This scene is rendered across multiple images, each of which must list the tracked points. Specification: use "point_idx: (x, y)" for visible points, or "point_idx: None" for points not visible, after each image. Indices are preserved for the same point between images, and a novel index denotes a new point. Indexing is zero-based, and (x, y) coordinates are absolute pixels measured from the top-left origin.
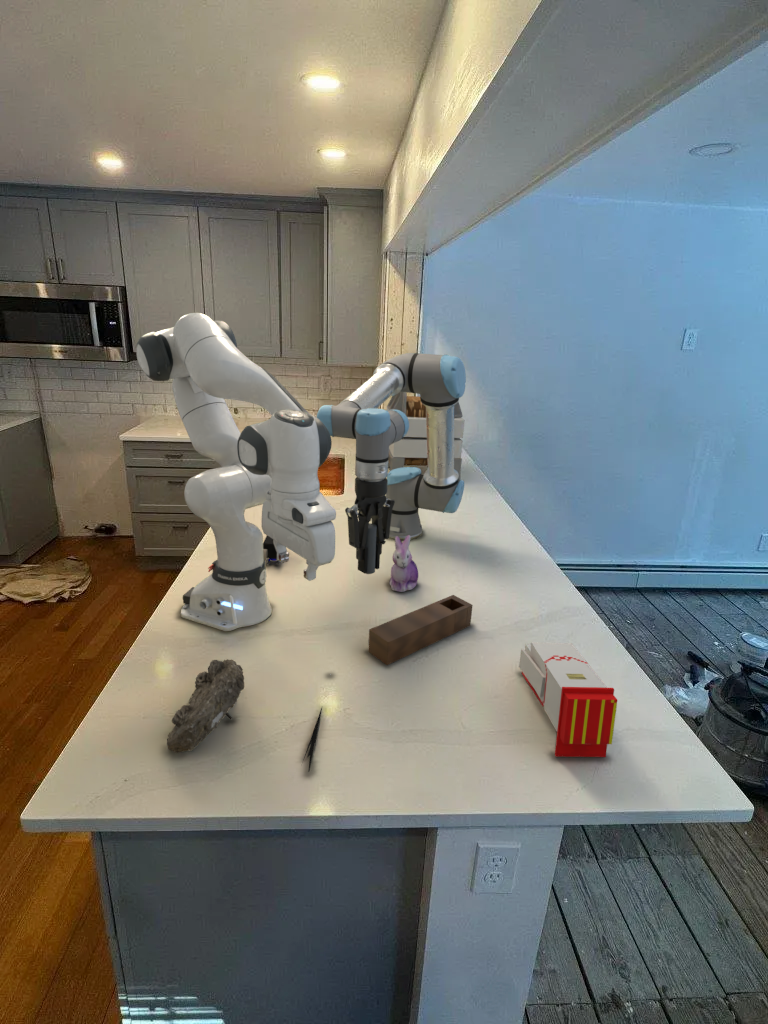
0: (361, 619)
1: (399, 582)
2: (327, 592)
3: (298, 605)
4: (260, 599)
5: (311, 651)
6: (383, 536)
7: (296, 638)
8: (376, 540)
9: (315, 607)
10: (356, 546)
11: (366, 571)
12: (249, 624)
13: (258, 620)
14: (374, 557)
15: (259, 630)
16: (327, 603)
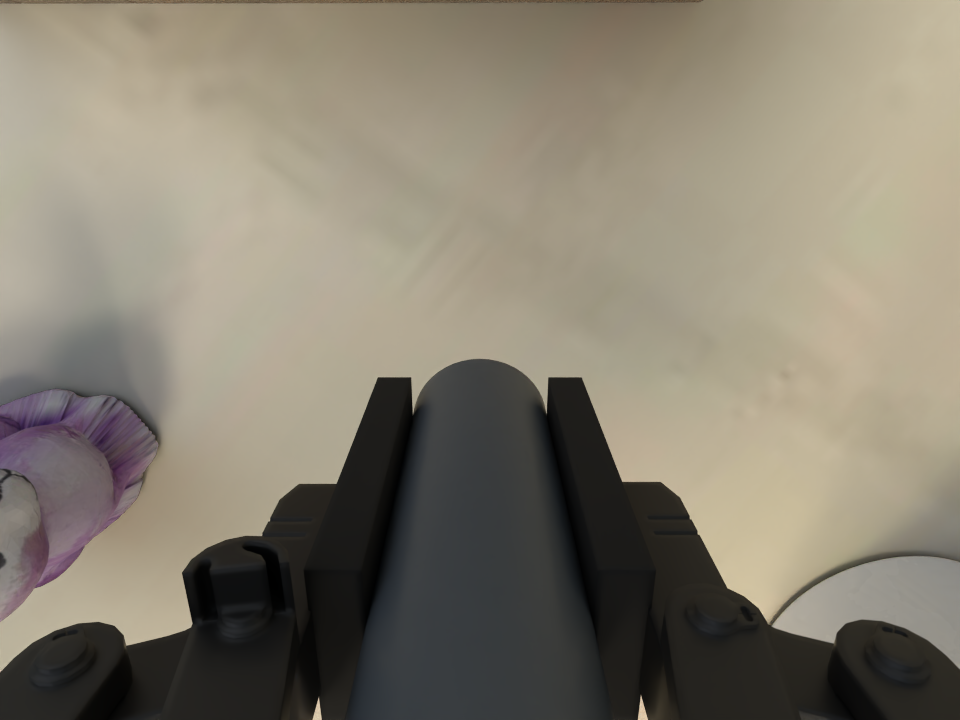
0: (495, 308)
1: (96, 446)
2: None
3: None
4: None
5: (916, 215)
6: (140, 704)
7: (876, 358)
8: (305, 685)
9: None
10: (924, 654)
11: (560, 384)
12: (955, 564)
13: (913, 566)
14: (451, 449)
15: (941, 509)
16: None
